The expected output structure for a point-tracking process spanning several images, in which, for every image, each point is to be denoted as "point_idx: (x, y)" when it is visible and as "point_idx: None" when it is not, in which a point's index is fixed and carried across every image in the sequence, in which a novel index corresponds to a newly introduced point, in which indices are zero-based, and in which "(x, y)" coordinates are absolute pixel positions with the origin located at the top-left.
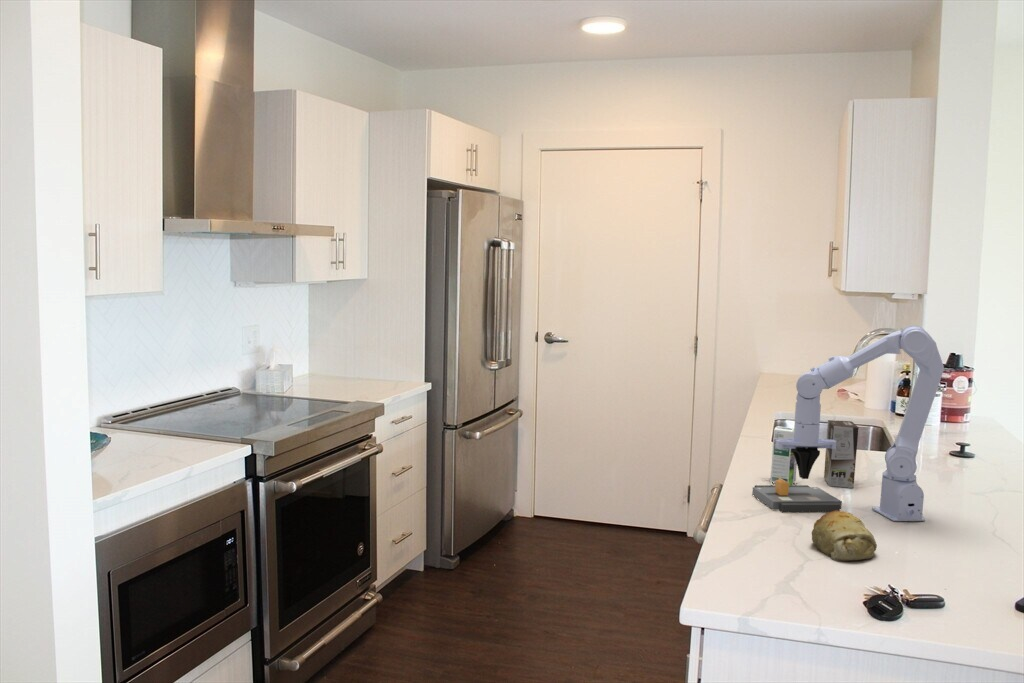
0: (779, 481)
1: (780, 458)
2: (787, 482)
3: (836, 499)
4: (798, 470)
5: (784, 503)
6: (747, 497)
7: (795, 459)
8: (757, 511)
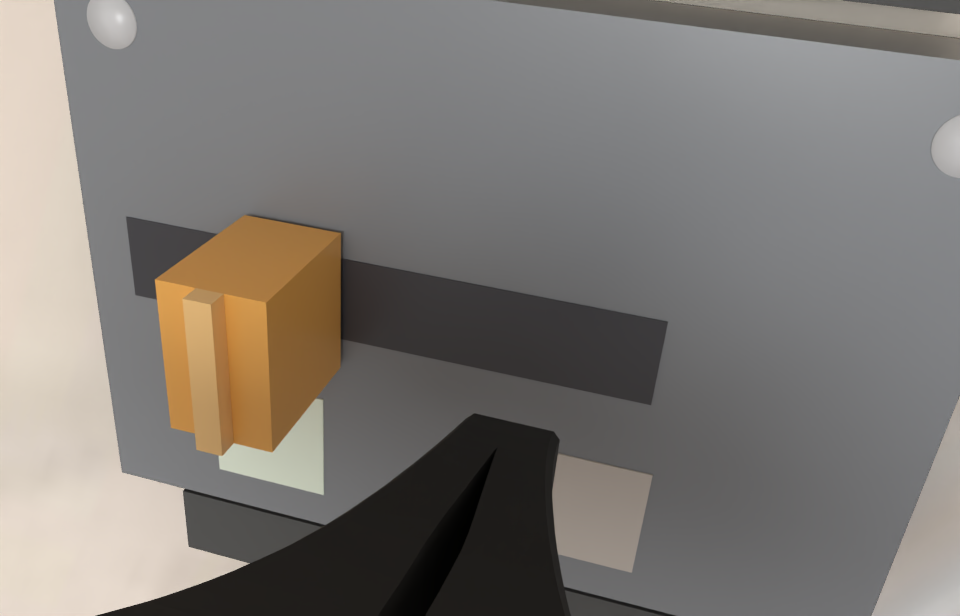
0: (178, 359)
1: None
2: (265, 423)
3: (844, 602)
4: (423, 457)
5: (216, 519)
6: (44, 14)
7: (279, 552)
8: (39, 422)
